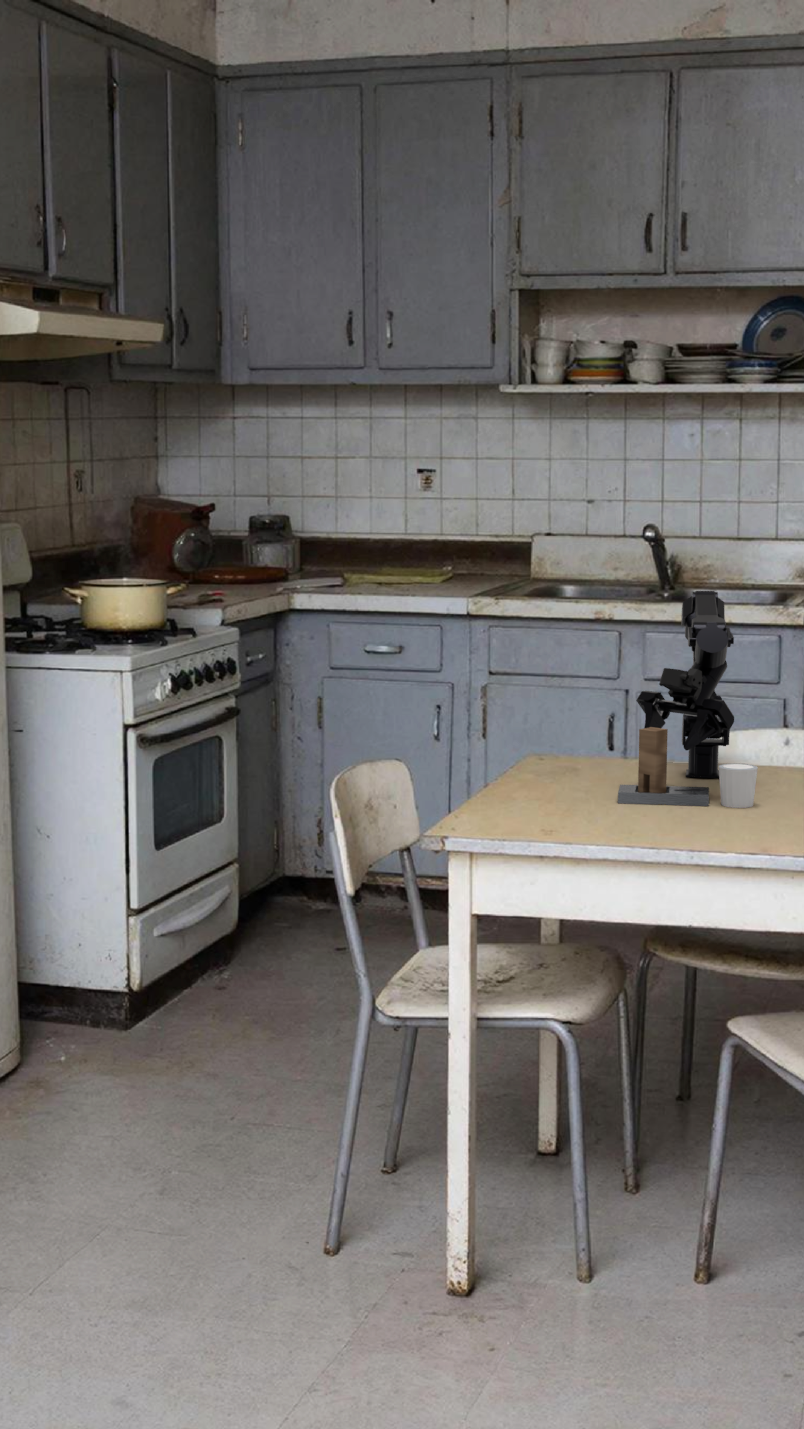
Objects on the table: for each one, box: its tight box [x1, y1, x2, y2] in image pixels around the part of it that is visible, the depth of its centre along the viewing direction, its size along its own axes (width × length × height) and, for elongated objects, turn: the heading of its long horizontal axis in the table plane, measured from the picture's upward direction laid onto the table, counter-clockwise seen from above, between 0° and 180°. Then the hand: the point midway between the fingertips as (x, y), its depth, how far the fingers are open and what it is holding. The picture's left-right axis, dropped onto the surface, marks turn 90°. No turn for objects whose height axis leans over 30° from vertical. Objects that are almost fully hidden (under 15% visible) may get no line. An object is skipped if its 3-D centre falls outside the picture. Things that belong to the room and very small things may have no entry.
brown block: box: [637, 727, 669, 793], centre depth 302 cm, size 4×4×13 cm
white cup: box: [718, 762, 758, 809], centre depth 299 cm, size 7×7×7 cm
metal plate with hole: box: [617, 784, 710, 807], centre depth 303 cm, size 8×16×2 cm, turn 80°
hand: (664, 745), depth 305 cm, fingers open, 9 cm apart
